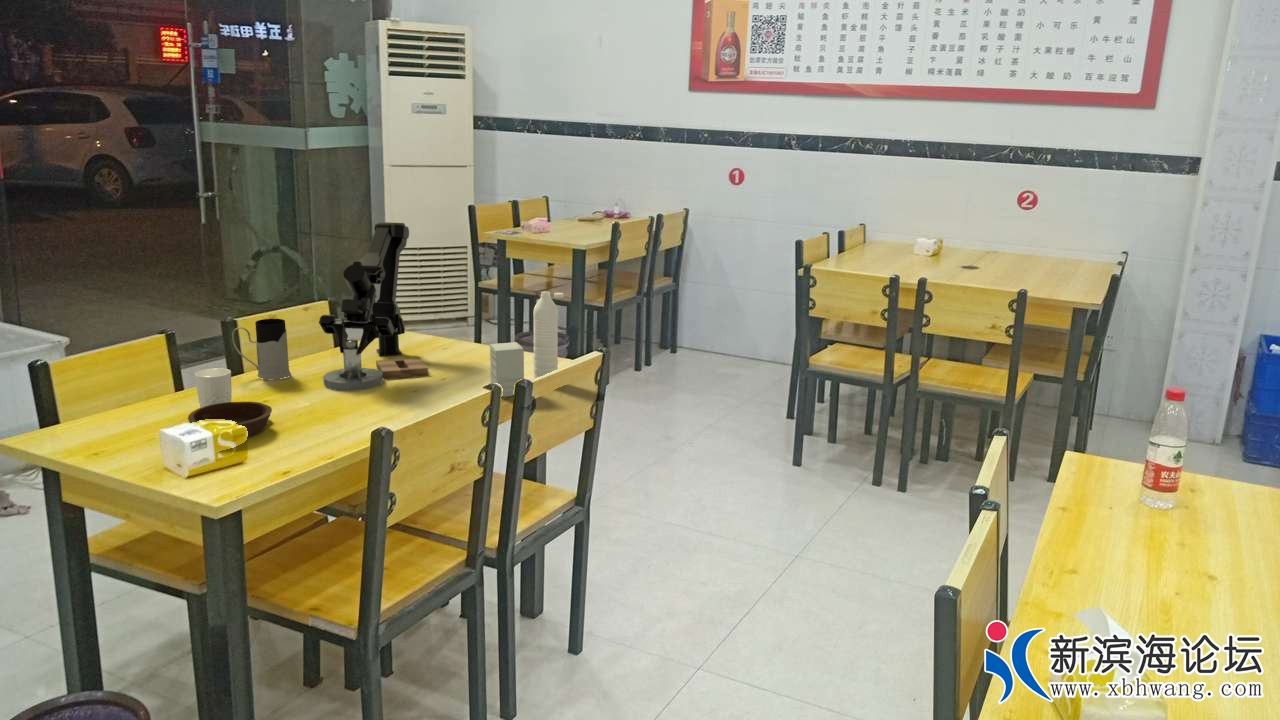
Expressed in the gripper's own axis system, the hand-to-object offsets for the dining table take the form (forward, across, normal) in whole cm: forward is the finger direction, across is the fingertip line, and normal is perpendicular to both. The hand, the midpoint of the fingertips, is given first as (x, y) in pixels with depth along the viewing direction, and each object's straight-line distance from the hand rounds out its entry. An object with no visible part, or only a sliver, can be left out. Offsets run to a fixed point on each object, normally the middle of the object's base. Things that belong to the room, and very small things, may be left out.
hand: (350, 352), depth 268 cm
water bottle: (0, +51, +12) cm, 53 cm away
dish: (+35, -13, -23) cm, 44 cm away
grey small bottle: (+4, 0, +6) cm, 7 cm away
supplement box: (+8, +42, +5) cm, 43 cm away
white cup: (+26, -23, -14) cm, 38 cm away
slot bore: (-4, +9, +16) cm, 19 cm away
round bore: (+5, 0, +7) cm, 9 cm away
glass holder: (+4, -26, +9) cm, 27 cm away
